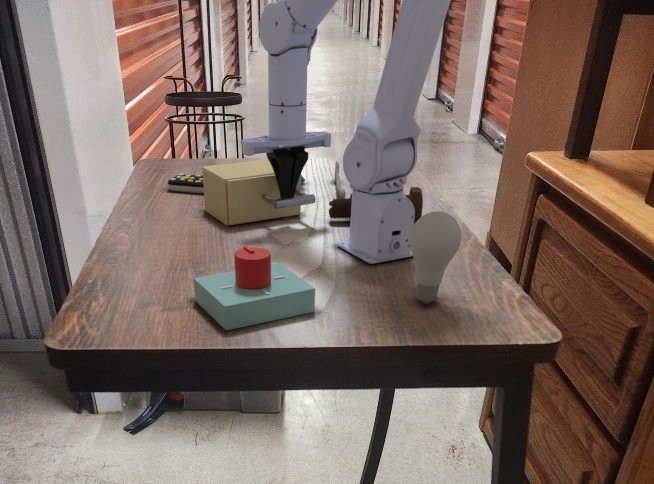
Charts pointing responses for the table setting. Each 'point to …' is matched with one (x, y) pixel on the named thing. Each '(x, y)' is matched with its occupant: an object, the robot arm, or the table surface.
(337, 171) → the combination wrench
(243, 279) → the cylinder
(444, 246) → the lightbulb
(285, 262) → the table surface
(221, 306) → the panel
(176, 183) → the remote control
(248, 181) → the cabinet door
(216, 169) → the cabinet
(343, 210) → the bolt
